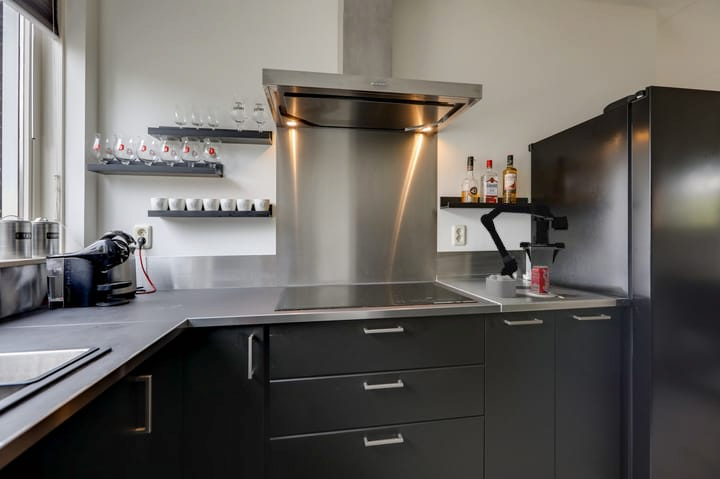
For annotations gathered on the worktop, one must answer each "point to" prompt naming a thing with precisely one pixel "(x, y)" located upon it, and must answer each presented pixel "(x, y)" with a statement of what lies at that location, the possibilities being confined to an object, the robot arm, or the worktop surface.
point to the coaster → (540, 295)
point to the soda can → (540, 280)
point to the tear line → (558, 296)
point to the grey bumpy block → (500, 286)
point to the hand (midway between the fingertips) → (541, 263)
